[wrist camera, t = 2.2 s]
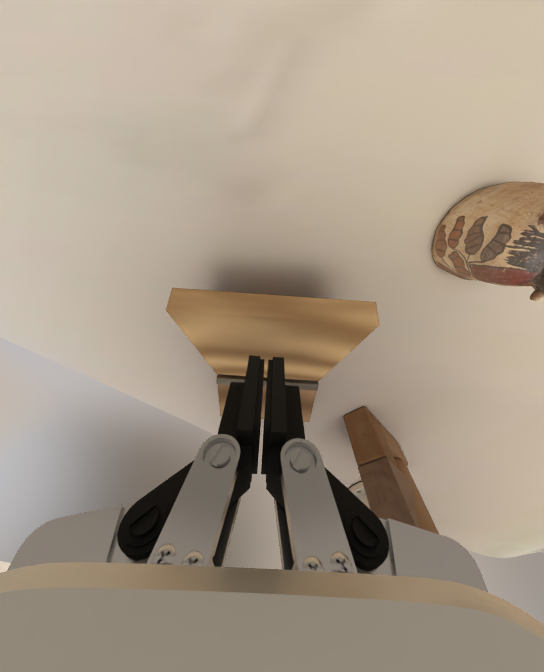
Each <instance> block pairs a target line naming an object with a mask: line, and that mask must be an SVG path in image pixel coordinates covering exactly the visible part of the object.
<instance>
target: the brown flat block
mask: <svg viewBox="0 0 544 672" xmlns="http://www.w3.org/2000/svg"><path fill="white" fill-rule="evenodd" d="M245 377H246V376H238V375H223V374H218V375H217V384H218V392H219V404H220V416H222V415H223V411H224V406H225V402H226V398H227V394H228V390H229V386H230V383H231V382H245ZM266 385H267V377H264V379H263V396H262V411H261V419H264V416H265V399H266ZM285 385H294V386H299V390H300V399H301V408H302V417H303V422H309V420H310V415H311V411H312V407H313V403H314V398H315V394H316V391H317V388H318V381H313V380H298V379H285Z"/></svg>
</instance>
